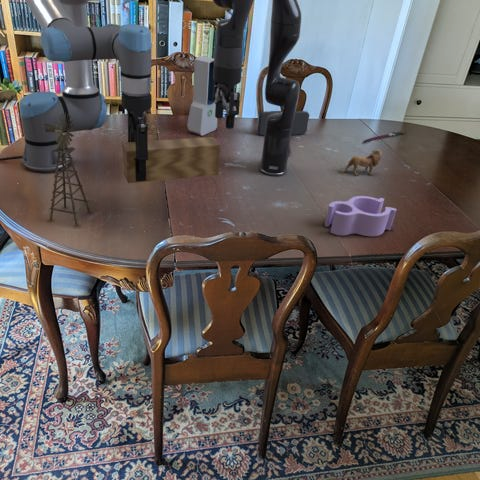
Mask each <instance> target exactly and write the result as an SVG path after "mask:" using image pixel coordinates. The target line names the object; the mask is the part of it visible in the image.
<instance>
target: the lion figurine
mask: <svg viewBox="0 0 480 480" xmlns="http://www.w3.org/2000/svg"><path fill="white" fill-rule="evenodd" d="M382 157H383V153H382V151H381V150H380V149H374V150H372V152H371V153H370V154H369V155H367V156H365V157H364V156H359V155H354V156H352V157H351V158H350V160H349V161H348V163H347V165H346V166H345V168H344V169H345V170H344V172H343V173H344V174H346V173H347V172H349V168H350V167H353V169H352V172H353V174H354V175H355V176H358V174H359V173H358V172H357V170H358V168H359V166H360V167H361V168H364V170H363V171H364V172H365V173H368V175H369V176H372V175H373V173H372V171H373V169H374V167H376V166H378V165H379V164H380V161H381V159H382ZM368 168H369V169H368Z"/></svg>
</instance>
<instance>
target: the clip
mask: <svg viewBox="0 0 480 480" xmlns="http://www.w3.org/2000/svg"><path fill="white" fill-rule="evenodd" d="M384 201H385V198H383V197H379V198H376V197H373V196H368V195H357V196H352V197H350V198H349V200H347V201H339V200H338V201H337V200H335V201H332V202H330V203H329V205H328V208H327V214H326V218H325V222H324V227H326V228H329V227H330V226H331V227H330V233H331V234H333V235H336V236H348V235H353V234H356V235H360V236H364V237H365V236H366V237H378V236H381V235H382V234H384V232H385V230H387V231H391V229H392V226H393V222H394V219H395V216H396V213H397V210H398V209H397V208H395V207H391V206H385V207H384V211H383V212H382V209H383V206H384Z"/></svg>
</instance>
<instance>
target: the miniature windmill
mask: <svg viewBox="0 0 480 480" xmlns="http://www.w3.org/2000/svg"><path fill="white" fill-rule="evenodd" d="M68 115H69V114H68ZM68 115H67V119H68ZM59 117H60V116H59ZM62 117H63V113H62ZM70 118H71V116H70ZM70 118H69V120H70ZM65 119H66V113H65ZM60 120H61V117H60ZM69 120H68V123H69ZM62 121H63V123H62ZM72 121H73V119H72ZM72 121H71V122H70V123H69V125H70V124H71V123H72ZM57 122H58V123H59V126H58V125H57V124H55V125H56V127H57V128H58V129H56V127H54V126H52V125H49V124H45V123H44V125H45V132H58V134H56V135H55V138H56V137H58V136H59V135H60V136H59V137H58V138H57V139H56V142H58V141H59V142H58V144H57V145H58V146H59V147H57V148H56V149H54V150H52V151H53V152H57V153H58V157H57V159H56V162H57V165H56V172H54V173H55V174H53V178H54V182H53V184H52V186H53V188H52V189H53V190H52V192H51V194H52V198H51V199H50V201H51V204H50V207H49V210H50V214H49V221H51V222H52V221H53V219H54V211H55V212H60V213H61V212H63V213H67V214H72V215H73V219H74V225H75V227H76V226H79V221H78V217H77V214H78V213H79V212H80V211H81V210H82V209H83V208H84V207H85V206H86V209H87V212H88V213H89V214H91V213H92V210H91V208H90V205H89V202H90V201H89V200H87V197H86V194H85V191H84V189H83V187H84V186H83V184H81V180H80V177H79V175H78V171H77V169H76V167H75V163H74V161H73V159H74V158H73V157H72V156H71V153H72V152H74V151H75V150H76V149H77V148H75V147H74V146H70V145H71V143H70V142H73V139H72V138H73V137H74V134H73V133H74V132H75V131H74V129H73V130H68V129H70V128H71V127H73V125H74V124H73V125H71V126H70V127H68V126H69V125H68V123H67V120H66V123H67V125H68V126H67V125H65V127H67V128H66V129H67V131H66V133H62V132H65V130H64V129H63V128H64V126H63V125H64V118H63V120H61V123H62V125H61V124H60V122H59V120H58V119H57ZM60 126H61V127H62V126H63V127H62V128H61V127H60ZM73 131H74V132H73ZM59 132H60V133H59ZM59 139H60V140H59ZM69 146H70V147H69ZM64 150H66V151H64ZM60 153H62V155H61V156H60ZM65 154H68V156H69V157H67V156H65ZM61 157H62V161H59V159H60V158H61ZM66 158H69V160H67V161H66ZM69 161H70V162H71V164H70V166H71V167H72V169H68V168H69V166H68V167H67V163H68V162H69ZM59 162H61V163H60V164H59ZM64 163H65V169H64ZM61 164H62V170H60V171H58V168H59V166H60V165H61ZM70 172H71V173H72V172H73V173H72V174H71V175H70ZM61 173H62V175H60V174H61ZM74 176H75V179H76V181H77V183H74V182H73V183H72V182H71V179H72V178H73V177H74ZM58 178H59V179H58ZM66 180H67V182H66ZM60 181H62V183H61V184H60V185H59V186H58V187H57V184H58V183H59V182H60ZM66 185H67V186H68V190H69V191H68V192H67V190H66ZM72 186H77V187H78V188H77V189H75V190H74V191H73V189H72ZM60 188H62V190H61V191H59V189H60ZM79 190H80V192H81V195H82V198H83V199H80V198H75V197H74V195H75V194H76V193H77V192H78V191H79ZM60 195H63V196H62V197H60V199H59V200H57V202H55V201H56V198H58V196H60ZM67 199H68V200H70V202H71V208H72V211H70V210H64V209H67ZM62 200H63V208H64V209H59V208H55V206H57V205H58V204H59V203H61V201H62ZM75 201H79V202H84V203H83V204H82V205H81V206H80V207H79V208H78V209H77V210H76V207H75Z"/></svg>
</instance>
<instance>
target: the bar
mask: <svg viewBox="0 0 480 480" xmlns="http://www.w3.org/2000/svg"><path fill="white" fill-rule="evenodd" d="M121 144H122V145H121V147H122V148H121V149H122V168H123V170H122V171H123V173H122V174H123V176H124V178H125V180H126V182H127V184H137V183H146V182H147V183H148V182H159V181H168V180H176V179H177V180H178V179H190V178H199V177H209V176H218V175H219V165H220V155H221V144H220V143H219V142H218V140H217V139H216V138H214V136H209V137H208V136H206V137H191V138H190V137H189V138H179V139H178V138H174V139H158V140H148V160H146V181H137V182H136V170H135V161H134V158H136V148H135V142H128V141H126V142H121Z"/></svg>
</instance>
